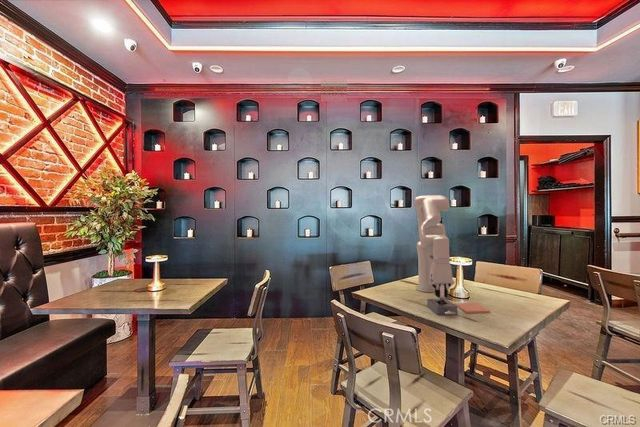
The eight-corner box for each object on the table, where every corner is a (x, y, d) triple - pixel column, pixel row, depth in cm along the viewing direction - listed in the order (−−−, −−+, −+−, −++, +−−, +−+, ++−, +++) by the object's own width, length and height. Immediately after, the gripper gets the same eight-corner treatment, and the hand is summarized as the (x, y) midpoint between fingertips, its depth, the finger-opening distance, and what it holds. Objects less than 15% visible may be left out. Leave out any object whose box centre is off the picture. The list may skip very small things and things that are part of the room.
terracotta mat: (454, 305, 153) (454, 303, 153) (476, 304, 153) (476, 302, 153) (466, 313, 141) (466, 311, 141) (490, 312, 141) (490, 310, 141)
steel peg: (436, 305, 148) (436, 282, 147) (443, 305, 148) (442, 282, 148) (439, 307, 145) (439, 284, 144) (445, 307, 145) (445, 284, 144)
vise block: (427, 306, 152) (427, 299, 152) (445, 306, 152) (445, 298, 152) (440, 317, 136) (440, 309, 136) (461, 317, 136) (461, 309, 136)
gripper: (453, 259, 149) (453, 293, 150) (422, 259, 149) (422, 294, 150) (460, 261, 142) (461, 298, 143) (428, 262, 142) (428, 299, 142)
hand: (441, 296), depth 146 cm, fingers closed on steel peg, 3 cm apart
